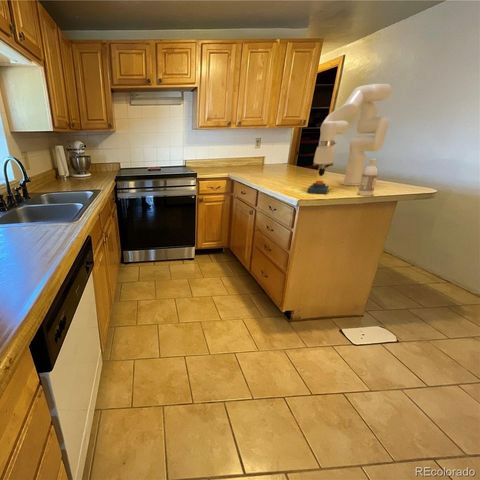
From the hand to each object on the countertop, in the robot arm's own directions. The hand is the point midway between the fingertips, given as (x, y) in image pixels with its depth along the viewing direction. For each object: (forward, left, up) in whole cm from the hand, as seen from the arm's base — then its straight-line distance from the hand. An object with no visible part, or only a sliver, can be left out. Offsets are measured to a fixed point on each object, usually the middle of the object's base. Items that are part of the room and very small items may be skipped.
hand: (321, 175), depth 164 cm
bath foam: (-7, +23, -10) cm, 26 cm away
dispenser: (0, 0, -10) cm, 10 cm away
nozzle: (0, 0, -6) cm, 6 cm away
